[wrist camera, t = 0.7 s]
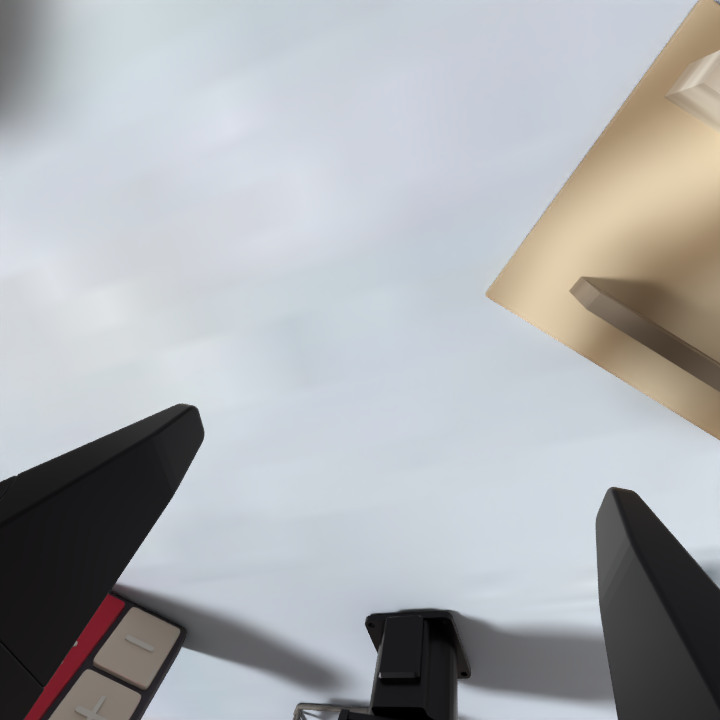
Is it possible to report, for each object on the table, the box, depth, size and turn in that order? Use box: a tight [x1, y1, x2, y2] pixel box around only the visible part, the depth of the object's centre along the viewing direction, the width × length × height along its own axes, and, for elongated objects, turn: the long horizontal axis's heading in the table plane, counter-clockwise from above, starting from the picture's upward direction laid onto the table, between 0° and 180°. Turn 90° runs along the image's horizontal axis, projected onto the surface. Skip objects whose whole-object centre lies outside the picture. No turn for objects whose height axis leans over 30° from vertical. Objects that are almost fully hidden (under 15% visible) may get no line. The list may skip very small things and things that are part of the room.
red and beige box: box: [24, 592, 186, 720], centre depth 32 cm, size 11×4×15 cm, turn 67°
